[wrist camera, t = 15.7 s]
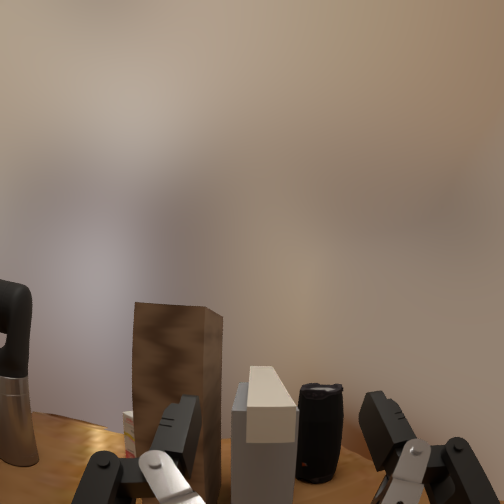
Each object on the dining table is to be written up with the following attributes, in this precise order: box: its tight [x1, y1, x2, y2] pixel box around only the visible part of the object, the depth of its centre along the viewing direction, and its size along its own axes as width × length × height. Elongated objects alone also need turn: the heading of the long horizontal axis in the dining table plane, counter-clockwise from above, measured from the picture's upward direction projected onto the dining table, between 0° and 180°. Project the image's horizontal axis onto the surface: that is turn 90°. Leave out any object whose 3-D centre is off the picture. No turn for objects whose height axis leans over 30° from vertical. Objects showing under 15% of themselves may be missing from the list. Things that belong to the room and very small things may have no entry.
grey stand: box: [231, 382, 299, 504], centre depth 31 cm, size 7×18×21 cm, turn 0°
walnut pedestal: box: [132, 302, 223, 504], centre depth 33 cm, size 8×18×32 cm, turn 0°
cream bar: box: [246, 366, 296, 443], centre depth 30 cm, size 4×26×3 cm, turn 0°
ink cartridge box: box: [123, 411, 136, 458], centre depth 42 cm, size 9×5×15 cm, turn 63°
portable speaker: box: [295, 383, 344, 483], centre depth 42 cm, size 9×9×20 cm
